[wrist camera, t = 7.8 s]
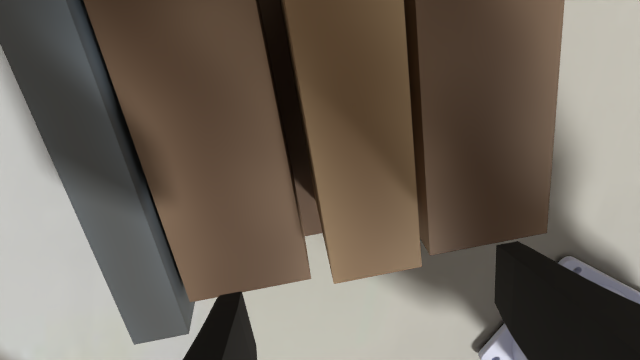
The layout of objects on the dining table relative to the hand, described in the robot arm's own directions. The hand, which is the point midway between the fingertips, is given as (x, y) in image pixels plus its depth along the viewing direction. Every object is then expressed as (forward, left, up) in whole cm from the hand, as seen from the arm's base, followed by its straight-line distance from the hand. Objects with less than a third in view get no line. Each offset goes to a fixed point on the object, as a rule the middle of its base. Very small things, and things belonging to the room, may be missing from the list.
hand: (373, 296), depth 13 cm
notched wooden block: (+2, -4, -9) cm, 10 cm away
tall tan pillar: (+2, -3, -8) cm, 9 cm away
